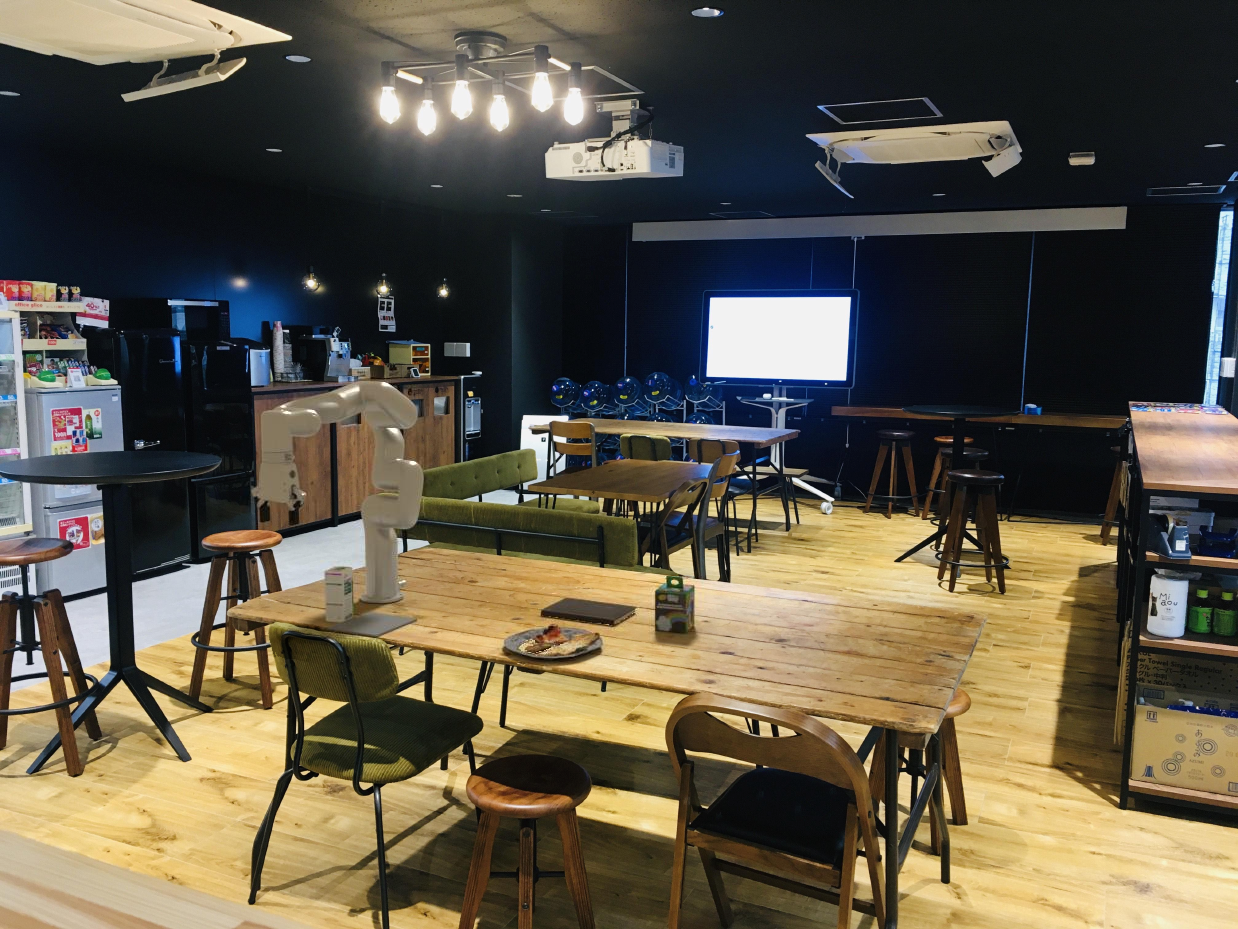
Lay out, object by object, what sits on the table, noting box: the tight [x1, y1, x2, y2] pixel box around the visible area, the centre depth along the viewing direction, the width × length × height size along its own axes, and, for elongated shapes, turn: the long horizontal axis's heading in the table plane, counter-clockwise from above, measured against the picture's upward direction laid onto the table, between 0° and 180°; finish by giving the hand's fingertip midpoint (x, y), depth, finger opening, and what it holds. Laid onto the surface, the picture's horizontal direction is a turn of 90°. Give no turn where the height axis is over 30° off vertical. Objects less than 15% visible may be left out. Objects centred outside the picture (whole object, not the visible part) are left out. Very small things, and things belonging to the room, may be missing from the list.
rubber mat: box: [327, 611, 418, 638], centre depth 265 cm, size 18×16×1 cm
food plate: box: [503, 624, 604, 661], centre depth 247 cm, size 25×23×4 cm
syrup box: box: [323, 565, 355, 624], centre depth 269 cm, size 6×6×14 cm
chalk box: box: [654, 575, 696, 635], centre depth 266 cm, size 9×9×15 cm
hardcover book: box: [540, 597, 638, 626], centre depth 280 cm, size 16×23×2 cm
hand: (279, 523), depth 253 cm, fingers open, 9 cm apart
